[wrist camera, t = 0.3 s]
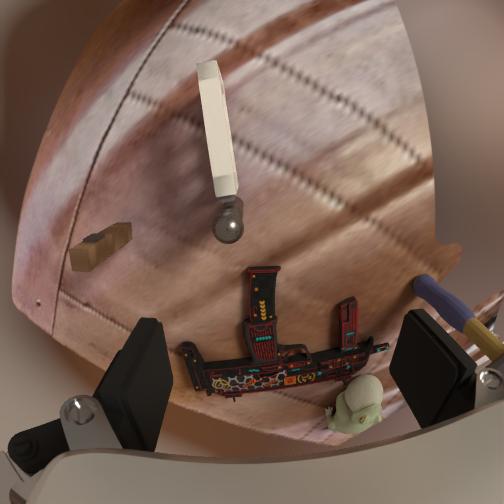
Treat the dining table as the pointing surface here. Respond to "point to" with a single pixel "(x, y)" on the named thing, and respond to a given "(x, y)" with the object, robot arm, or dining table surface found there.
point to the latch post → (99, 246)
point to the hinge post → (229, 222)
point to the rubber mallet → (461, 319)
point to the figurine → (357, 406)
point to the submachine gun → (278, 350)
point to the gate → (217, 131)
